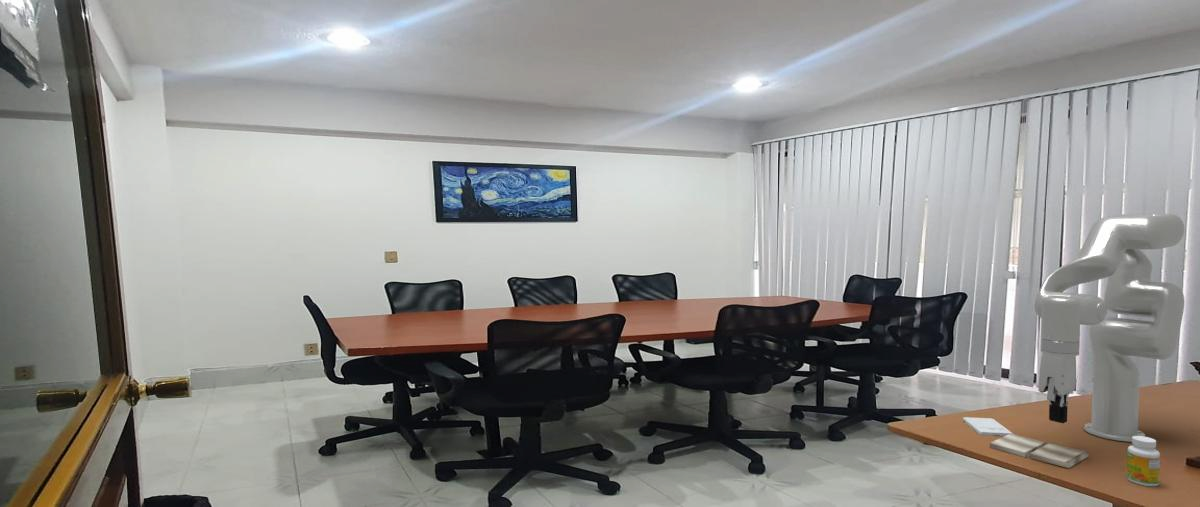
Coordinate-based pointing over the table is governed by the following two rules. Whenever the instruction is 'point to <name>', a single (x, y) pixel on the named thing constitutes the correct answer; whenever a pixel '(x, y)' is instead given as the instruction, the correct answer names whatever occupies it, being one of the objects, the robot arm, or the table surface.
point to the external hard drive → (986, 426)
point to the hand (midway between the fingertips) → (1057, 421)
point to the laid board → (1017, 445)
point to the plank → (1059, 455)
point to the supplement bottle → (1143, 461)
